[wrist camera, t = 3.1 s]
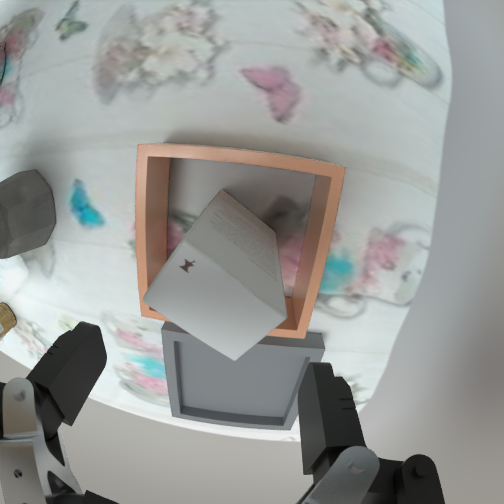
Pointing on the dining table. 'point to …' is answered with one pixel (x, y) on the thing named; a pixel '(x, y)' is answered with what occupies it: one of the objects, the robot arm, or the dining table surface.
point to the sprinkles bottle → (6, 320)
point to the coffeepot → (25, 213)
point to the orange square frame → (327, 174)
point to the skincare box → (223, 279)
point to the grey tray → (237, 379)
